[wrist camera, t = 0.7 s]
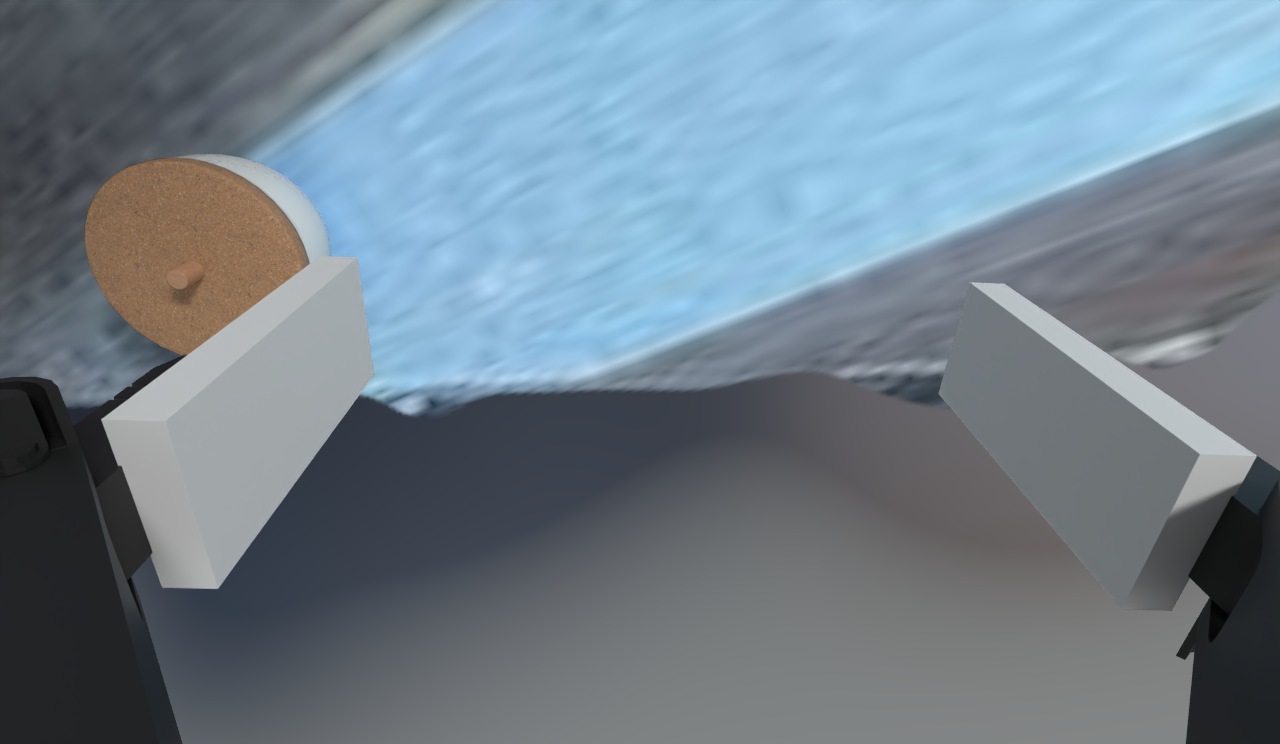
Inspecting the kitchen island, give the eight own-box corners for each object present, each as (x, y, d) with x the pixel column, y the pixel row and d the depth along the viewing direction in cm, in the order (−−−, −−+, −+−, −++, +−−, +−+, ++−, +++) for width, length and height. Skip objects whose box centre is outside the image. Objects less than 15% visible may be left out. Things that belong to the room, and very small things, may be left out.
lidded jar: (174, 114, 38) (47, 136, 30) (367, 168, 40) (297, 204, 31) (176, 287, 43) (66, 349, 34) (349, 330, 44) (284, 399, 36)
